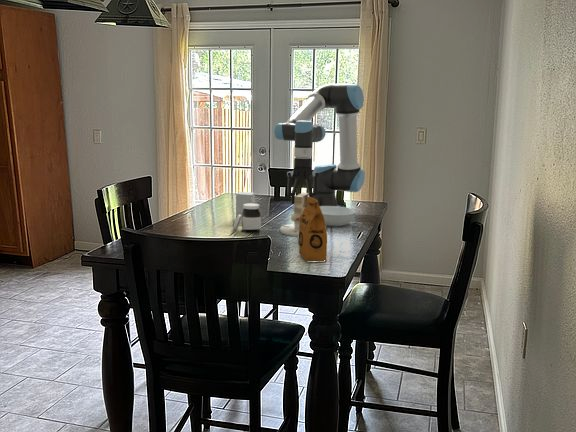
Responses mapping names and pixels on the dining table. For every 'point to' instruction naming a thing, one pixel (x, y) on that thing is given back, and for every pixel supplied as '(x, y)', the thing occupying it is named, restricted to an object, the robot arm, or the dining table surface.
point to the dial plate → (291, 229)
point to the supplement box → (243, 201)
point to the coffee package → (312, 233)
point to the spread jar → (249, 218)
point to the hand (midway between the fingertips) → (301, 211)
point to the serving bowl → (337, 215)
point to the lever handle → (299, 206)
